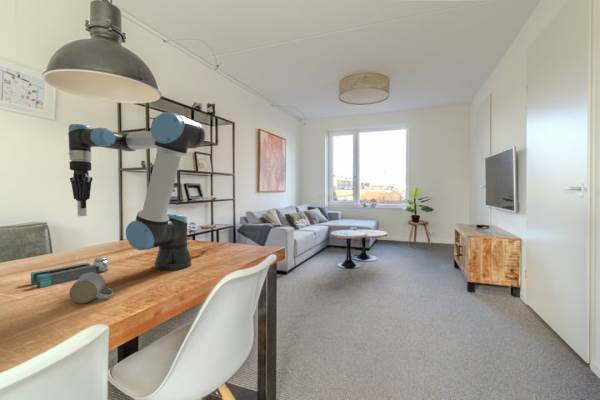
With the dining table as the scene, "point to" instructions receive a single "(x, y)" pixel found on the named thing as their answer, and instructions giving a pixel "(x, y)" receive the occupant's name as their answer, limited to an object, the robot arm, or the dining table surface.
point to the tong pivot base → (71, 274)
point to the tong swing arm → (60, 269)
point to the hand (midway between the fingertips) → (82, 215)
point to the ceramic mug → (89, 288)
